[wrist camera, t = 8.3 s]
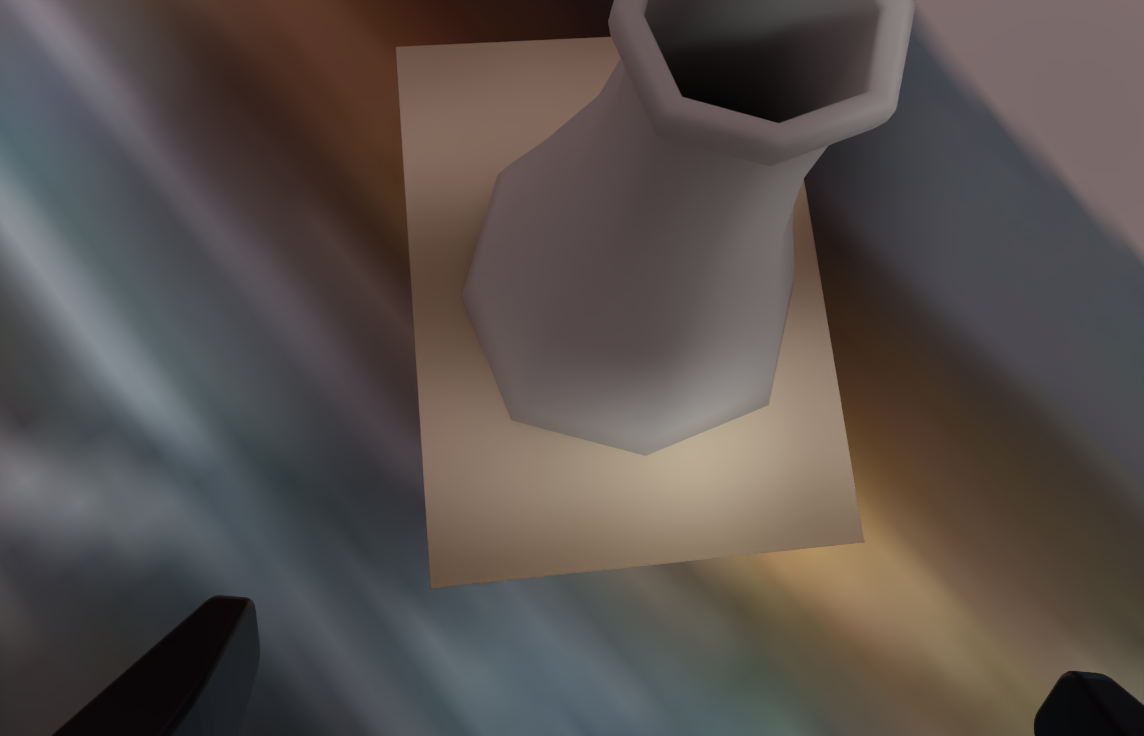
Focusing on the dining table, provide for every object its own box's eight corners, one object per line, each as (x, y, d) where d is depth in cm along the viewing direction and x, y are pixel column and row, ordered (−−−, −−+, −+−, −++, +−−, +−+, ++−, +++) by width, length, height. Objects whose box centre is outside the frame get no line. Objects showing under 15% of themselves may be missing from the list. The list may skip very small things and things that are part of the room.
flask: (469, 468, 17) (419, 370, 7) (455, 143, 19) (396, -294, 9) (810, 446, 18) (1174, 329, 8) (770, 134, 19) (1038, -284, 10)
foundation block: (813, 542, 20) (864, 541, 18) (442, 581, 20) (431, 588, 17) (744, 95, 23) (779, 29, 20) (410, 112, 22) (395, 46, 19)
